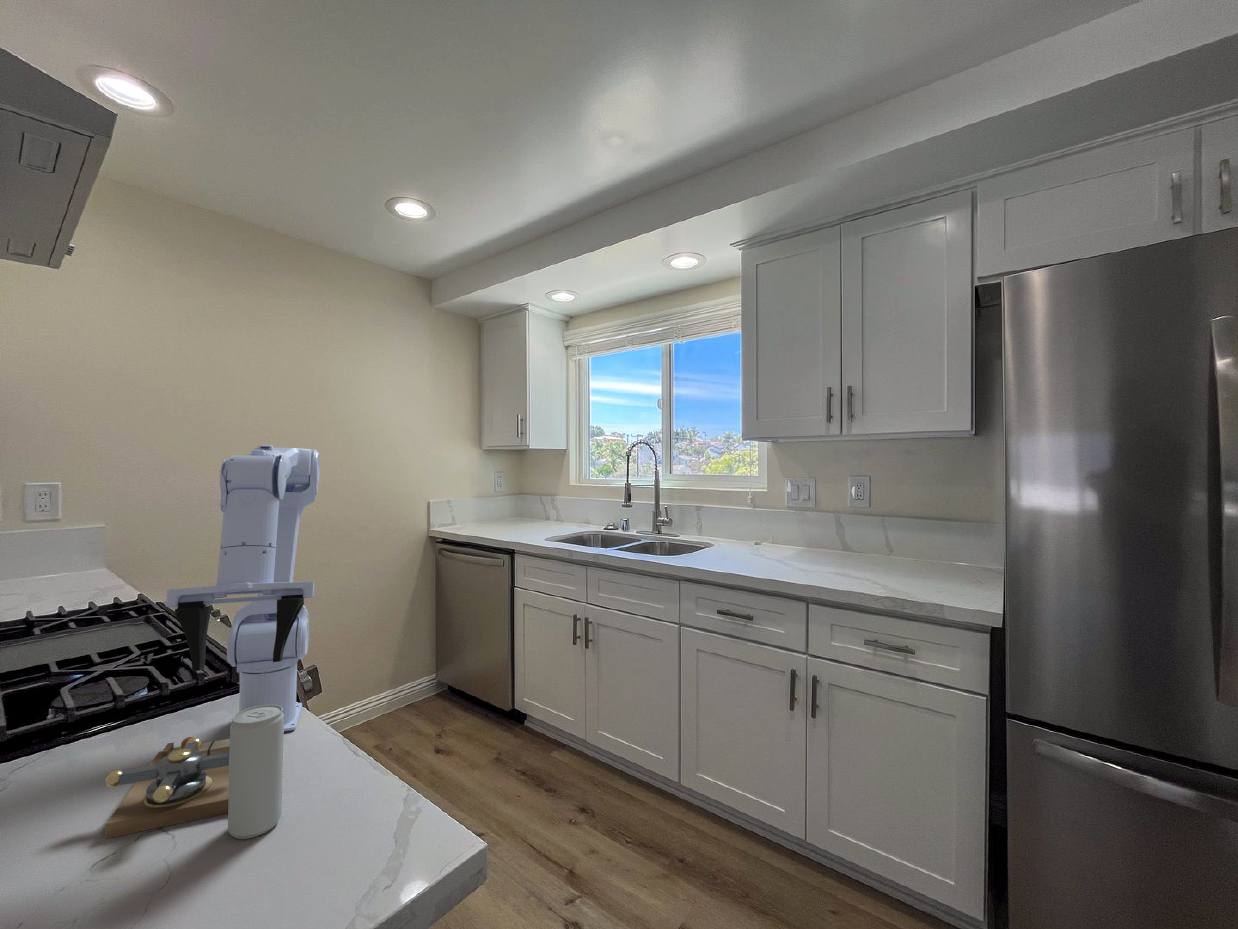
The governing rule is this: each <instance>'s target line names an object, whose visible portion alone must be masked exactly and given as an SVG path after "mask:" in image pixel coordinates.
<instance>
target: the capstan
mask: <svg viewBox="0 0 1238 929" xmlns="http://www.w3.org/2000/svg"><path fill="white" fill-rule="evenodd" d="M202 743H203V742H202V740H201V738H199V737H193V738H192V739H190V740H189V741H188V742H187V743H186V746H185V747H184V749H181V750H177V751H175V752H172V753H171V754H169V755H168V756H166V757H164V758H162V759H161V760H159V761H158V762H157V765H151V766H149V765H146V766H140V767H135V768H129V769H123V770H121V769H120V770H119V769H117V770H114V771H112V772H110V773H109V774H107V777H106V778H105V780H104V781H105V785H106V786H107V787H108V788H116V787H118V786H125V785H130V784H136V782H141V781H147V780H152V779H156V781H154V782H153V783H151V784H150V785H149V786H148V787H147V789H146V802H147V803H149V804H152V805H164V804H170V803H174V802H178V801H181V800H184V799H186V798H189V797H191V796H193V795H195V794H196V793H198V792H199V791H201V790H202V789H203V788H204V787H205V785H206V772H205V771H203V770H207V769H213V768H219V767H224V766H229V752H227V753H221V754H215V755H209V756H203V757H202V752H201V751H199V749H200V747H201V745H202Z"/></svg>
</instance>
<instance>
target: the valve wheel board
mask: <svg viewBox="0 0 1238 929" xmlns="http://www.w3.org/2000/svg"><path fill="white" fill-rule="evenodd" d="M192 738H194V737H193V736H187V737H186V738H184V739H183V740H182V741H181V743H180V746H178V747H177V746H176V747H175V742H167V743H166V745H165V746H164V748H163V750H160V751H158V753H157V754H156V755H155V757H154V758H153V760H151V762H150V764H148V766H151V765H157V762H158V761H159V760H161V759H162V758H164V757H166V756H168V755H169V754H171V753H172V752H175V751H177V750H181V749H184V747H185V746H186V743H187V742H188V741H189V740H190V739H192ZM229 747H230V738H226V739H225V738H224V739H220V740H212V741H207V742H202V745H201V747H200V749H199V751H201V752H202V757H203V756H209V755H215V754H221V753H227V752H229ZM203 771H205V772H206V785H205V787H204V788H203V789H202V790H201V791H199V792H198V793H196V794H195V795H193V796H191V797H189V798H186V799H184V800H181V801H178V802H174V803H170V804H164V805H152V804H149V803H147V802H146V789H147V787H148V786H149V785H150V784H151V783H153V782H154V781H156V779H152V780H147V781H141V782H135V783H134V785H133V787H132V788H131V789H130V790H129V792H128V793H127V795H126V796H125V797H124V798H123V800H122V801H121V802H120V804H119V805H118V807H117V808H116V810H115V811H114V812H113V814H112V815H111V816H110V818H109V819H108V820H107V822H106V823H105V835H104V837H105V839H109V838H110V839H111V838H116V837H120V836H125V835H130V834H134V833H138V832H144V831H149V830H153V829H157V828H163V827H166V826H167V827H168V826H172V825H176V824H177V825H178V824H181V823H186V822H187V823H188V822H191V821H196V820H200V819H205V818H210V817H215V816H218V815H219V816H221V815H223V814H224V815H225V814H228V792H229V766H224V767H219V768H213V769H207V770H203Z"/></svg>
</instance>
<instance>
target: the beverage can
mask: <svg viewBox="0 0 1238 929" xmlns="http://www.w3.org/2000/svg"><path fill="white" fill-rule="evenodd" d="M282 711H283V708H282V707H281V706H279V705H260V706H255V707H251V708H248V709H245V710H242V711H240V712H239V711H238V712H237V713H235V714H234V715H233V716H232V718H231V724H230V726H229V739H230V747H229V792H228V813H227V815H228V816H227V830H228V832H229V834H230V835H231V837H233V838H235V839H238V840H247V839H251V838H256V837H259V836H261V835H263V834H265V833H267V832H269V831H270V830H272V829H273V828H274V827H275V826H276V825H277V823H278V822H279V820H280V819H281V818H282V813H283V812H282V811H283V810H282V808H283V806H282V805H283V776H284V775H283V772H284V770H283V768H284V767H283V766H284V738H285V736H284V735H285V734H284V733H285V731H284V714H283V712H282Z"/></svg>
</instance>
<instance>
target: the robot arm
mask: <svg viewBox="0 0 1238 929" xmlns="http://www.w3.org/2000/svg"><path fill="white" fill-rule="evenodd" d="M320 472H321V455H320V452H319V451H317V449H315V448H313V449H310V448H297V447H274V445H273V444H260V445H258V447H255V448H254V449H253V450H252V451H251V452H250V453H248V454H246V455H243V454H242V455H241V454H240V455H238V454H233V455H231V456H230V459H228V458H224V459H223V461H222V463H221V466H220V471H219V487H220V488H219V489H220V503H219V504H220V511H221V513H222V514H223V515H222V522H221V524H222V525H221V534H220V542H219V545H220V546H219V554H218V562H217V564H218V565H217V577H216V585H209V586H197V587H185V588H171V589H169V588H168V589H167V591H166V592H167V594H166V602H165V607H166V608H175V609H174V614H175V617H176V618H177V621H178V622H179V625H180V628H181V629H182V631H183V634H184V636H185V639H186V642H187V645H188V649H189V654H190V661H191V672H198V671H199V672H200V671H203V670H205V665H206V657H207V656H206V655H207V654H206V652H207V637H208V632H209V631H208V630H209V625H210V624H209V623H210V618H211V613H212V608H213V607H212V606H209V605H217V604H219V605H220V604H234V603H246V602H247V603H248V602H249V603H248V604H246V605H244V606H243V607H242V608H240V609H239V610H238V611H236V613H235V615H234V616H233V622H232V626H231V627H230V629H229V632H228V635H227V636H228V637H227V643H226V658H227V659H226V660H227V663H228V664H230V666H231V667H233V668H235V667H236V673H239V695H238V696H239V702H238V703H239V704H238V712H240V711H242V710H245V709H248V708H251V707H255V706H260V705H279V706H281V707H282V708H283V711H282V712H283V714H284V732H289V731H294V730H296V729H297V727H298V724H299V723H298V722H299V718H300V715H301V711H302V707H303V702H297V681H298V680H297V677H298V662H299V661H300V660H303V659H304V657H306V656H307V654H308V649H309V641H310V640H309V637H310V624H309V623H310V622H309V620H310V615H309V614H310V613H309V611H308V610H307V607H306V605H305V600H304V599H311V598H312V599H313V598H314V597H315V596H314V595H315V581H313V580H312V581H311V580H309V581H294V574H295V564H296V556H297V547H298V540H299V539H298V536H299V530H300V521H301V518H302V515H303V513H304V509H305V507H307V506H308V505H310V504H312V503H314V502H316V499H317V495H318V492H319V483H320V482H319V481H320ZM253 594H254V595H255V594H257V596H247V597H246V596H245V597H231V598H228V596H234V595H237V596H239V595H253ZM207 605H208V606H207Z"/></svg>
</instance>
